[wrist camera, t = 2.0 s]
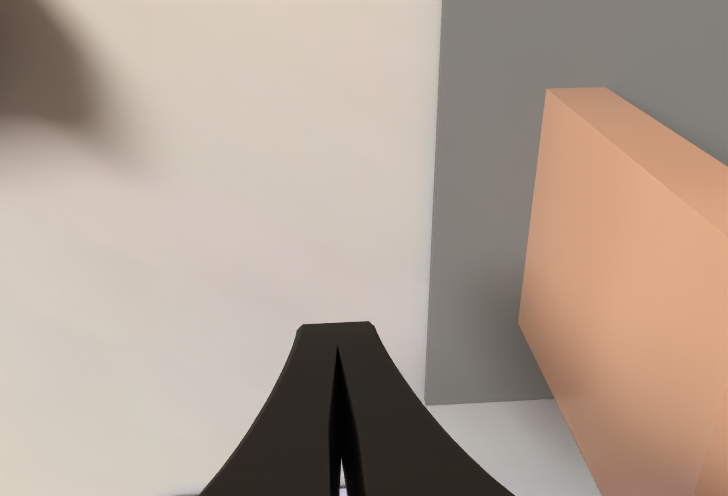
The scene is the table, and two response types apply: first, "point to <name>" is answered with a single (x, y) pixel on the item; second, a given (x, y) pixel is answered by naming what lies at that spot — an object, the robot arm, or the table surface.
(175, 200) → the table surface
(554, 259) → the tile
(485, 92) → the mat
